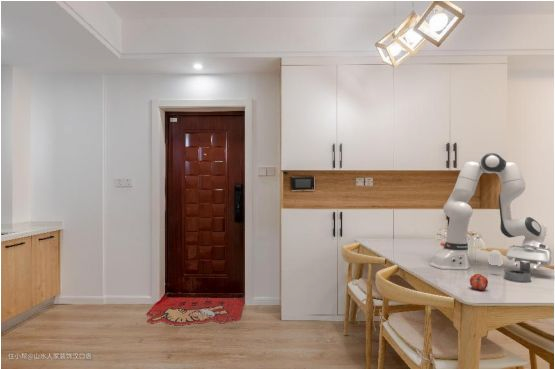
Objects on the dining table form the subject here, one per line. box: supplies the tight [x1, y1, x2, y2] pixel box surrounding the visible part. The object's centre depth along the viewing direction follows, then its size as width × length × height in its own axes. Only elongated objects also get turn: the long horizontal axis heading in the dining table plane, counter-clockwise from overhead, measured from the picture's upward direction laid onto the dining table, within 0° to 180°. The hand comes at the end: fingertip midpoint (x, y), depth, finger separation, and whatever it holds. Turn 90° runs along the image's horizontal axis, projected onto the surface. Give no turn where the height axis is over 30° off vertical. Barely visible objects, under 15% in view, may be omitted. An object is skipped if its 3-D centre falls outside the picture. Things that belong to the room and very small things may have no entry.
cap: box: [519, 261, 531, 273], centre depth 195 cm, size 4×4×8 cm
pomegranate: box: [469, 273, 489, 291], centre depth 170 cm, size 7×7×10 cm
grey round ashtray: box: [503, 268, 532, 284], centre depth 188 cm, size 11×11×4 cm
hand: (524, 267), depth 194 cm, fingers open, 8 cm apart
